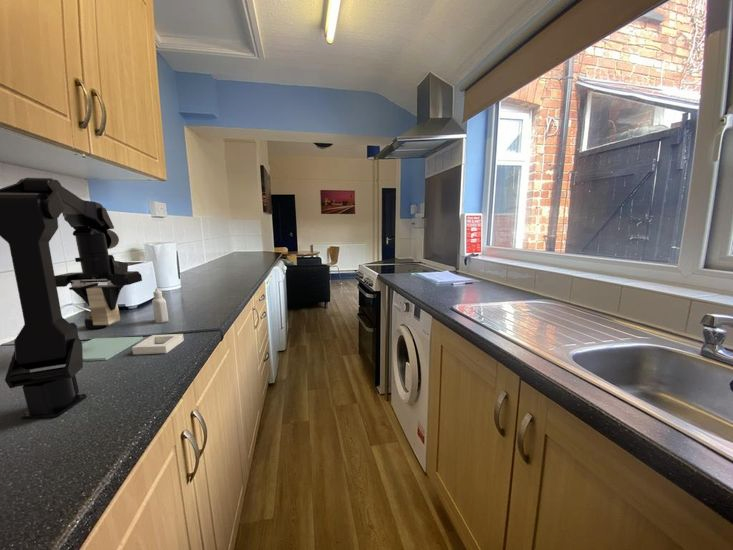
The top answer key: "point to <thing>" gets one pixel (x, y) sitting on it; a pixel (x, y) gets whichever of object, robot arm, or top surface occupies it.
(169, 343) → the beige square frame
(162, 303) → the eye dropper bottle
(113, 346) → the pad
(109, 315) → the peg
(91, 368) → the top surface
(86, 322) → the tape measure
